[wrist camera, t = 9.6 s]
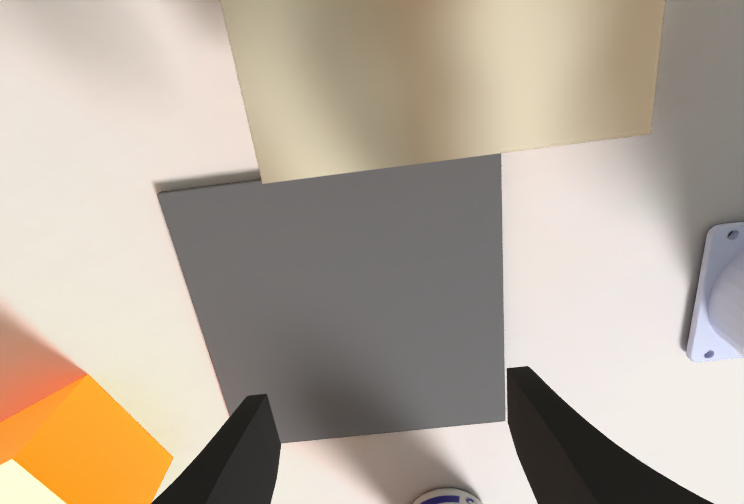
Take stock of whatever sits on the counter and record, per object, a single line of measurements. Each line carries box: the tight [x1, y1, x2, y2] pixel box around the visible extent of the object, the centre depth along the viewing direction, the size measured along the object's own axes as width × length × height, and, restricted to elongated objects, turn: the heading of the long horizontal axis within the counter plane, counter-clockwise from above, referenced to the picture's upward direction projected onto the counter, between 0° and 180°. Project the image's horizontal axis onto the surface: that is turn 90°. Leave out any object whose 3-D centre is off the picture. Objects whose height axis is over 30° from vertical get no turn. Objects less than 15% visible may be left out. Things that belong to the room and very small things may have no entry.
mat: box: [157, 153, 505, 443], centre depth 24 cm, size 16×16×1 cm
